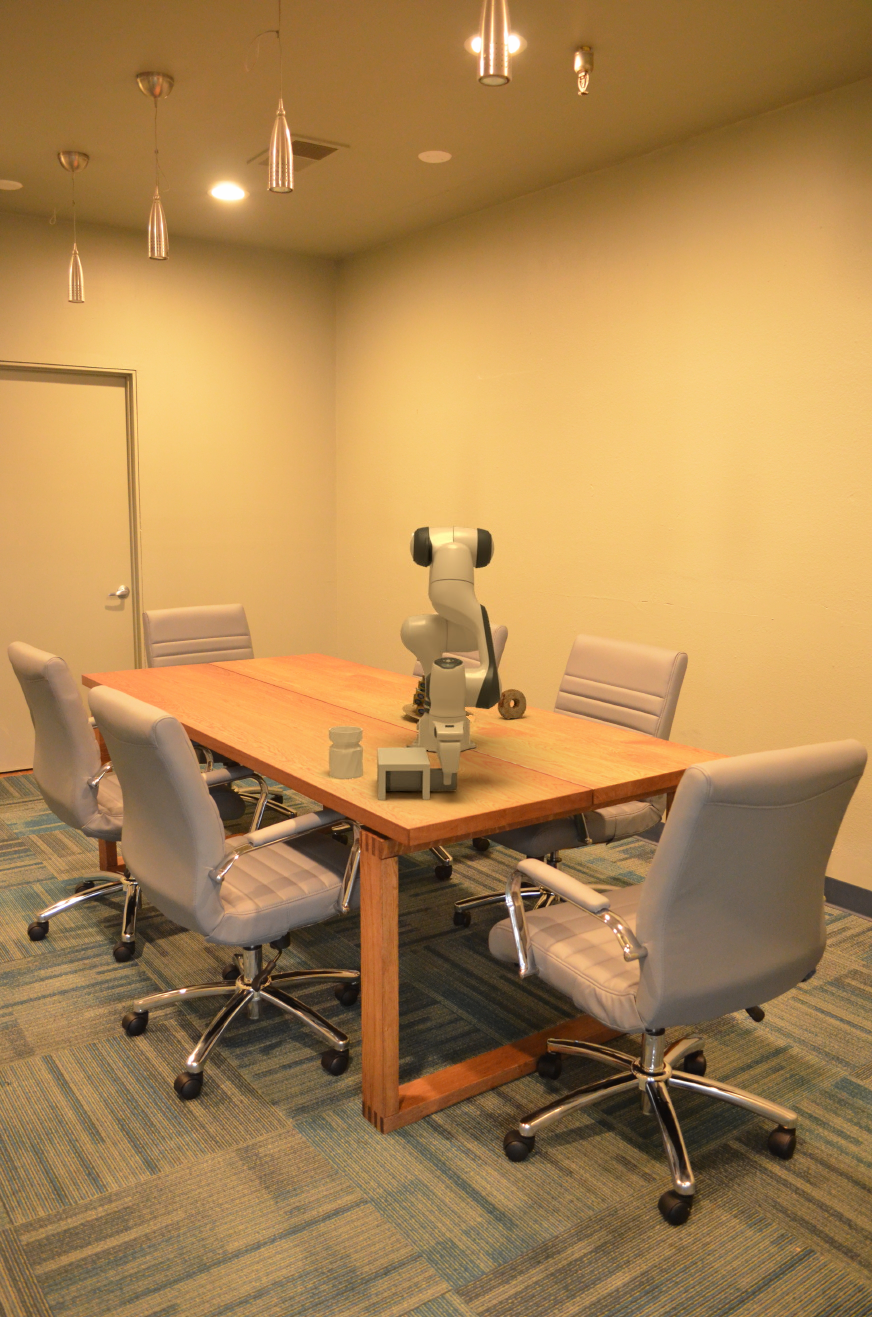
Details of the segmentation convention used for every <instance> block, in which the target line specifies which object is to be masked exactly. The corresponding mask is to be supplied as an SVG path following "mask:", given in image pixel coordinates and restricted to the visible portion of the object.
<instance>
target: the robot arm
mask: <svg viewBox="0 0 872 1317" xmlns="http://www.w3.org/2000/svg"><path fill="white" fill-rule="evenodd" d="M409 544H410V545H409V551H410V555H411V557H412V561H413V562H414V564H416V565H418V566H420V567H424V568H428V567H429V570H428V571H429V573H428V590H427V592H428V594H427V596H428V599H429V601H430V603H431V605H432V608H433V609H434V611H435V612H436V614H434V613H433V614H430V613H427V614H426V613H425V614H423V613H422V614H416V615H413V616H408V617H406V619H404V621H403V623H402V625H401V628H400V639H401V642H402V644H403V646H404V647H405V648H406V649H407V650H408V651H409V652H411V653H412V654H413V655H414V656H415V657H416V658H417V660H418V661H419V663H420V665H421V667H422V670H423V674H424V675H425V688H426V699H425V700H424V712H425V713H424V715H423V716H422V717H421V719H418V721H417V722H416V731H417V733H416V737H415V738H414V740H413V741H412V742H411V746H412V747H414V748H425V749H426V751H427V750H428V751H429V752H435V753H436V755H437V759H438V762H439V765H440V768H442V771H443V783H444V784H445V785H450V784H451V776H452V773H457V774H458V771H459V767H460V760H461V752H463V751H465V750H469V749H475V748H476V747H477V743H476V742H474V741H472V740H471V722H470V720H469V719H468V718H467V717H466V711H467V710H466V708H475V709H484V710H490V709H492V708H493V707H495V706H496V705H498V702H499V701H500V698H501V695H502V692H503V685H502V681H501V677H500V674H499V671H498V666H497V660H496V654H495V652H496V651H495V647H494V642H493V641H494V640H493V633H492V628H491V624H490V618H489V614H488V611H487V609H486V606H485V605H483V604H482V603H480V602H479V601H478V598H477V597H476V593H475V570H474V568H475V569H481V568H485V567H487V566H489V564H491V561H492V559H493V556H494V555H495V554H494V553H495V543H494V540H493V536H492V534H491V533H490V531H489V530H487V529H484V528H480V527H478V528H472V527H465V526H457V525H456V526H454V525H453V526H434V527H429V526H423V527H418V528H417V529H416V530H415V531H414V532H413V535H412V537H411V539H410V542H409ZM476 651H478V656H479V662H480V663H479V667H476V668H471V667H467V668H466V667H465V663H464V661H463V660H461V659H460V658H456V657H452V656H448V657H447V656H446V657H445V656H444V657H443V654H445V653H472V652H476Z"/></svg>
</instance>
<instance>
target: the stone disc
mask: <svg viewBox="0 0 872 1317" xmlns="http://www.w3.org/2000/svg"><path fill="white" fill-rule="evenodd" d="M512 701H513V705H512V706H511V703H512ZM526 710H527V699H526V696H525V695H524V693H523V692H522V691H520V690H519V689H515V688H514V689H513V688H510V689H506V690H504V691H502V695H501V698H500V701H499V702H498V703H497V711H498V713H499V714H500V716H501V717H502V718H504V719H506V718H515V719H519V718H521V717H522V716H523V715H524V714H525V712H526Z"/></svg>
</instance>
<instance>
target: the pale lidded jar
mask: <svg viewBox="0 0 872 1317" xmlns="http://www.w3.org/2000/svg"><path fill="white" fill-rule="evenodd" d="M363 731H364V730H363V728H362V727H359V726H353V725H340V726H339V725H337V726H333V727H330V728H329V729H328V740H329V741H330V742H331V743H332V744H331V745H330V746H329V748H328V767H329V777H330V776H331V777H330V778H333V777H334V778H333V779H337V778H340V779H339V780H353V779H352V778H354V779H359V778H361V777H362V776H363V774H364V765H363V757H364V747H363V746H362V745H361V744H360V742H362V740H363ZM358 777H359V778H358Z"/></svg>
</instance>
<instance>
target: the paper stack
mask: <svg viewBox="0 0 872 1317" xmlns="http://www.w3.org/2000/svg"><path fill="white" fill-rule="evenodd" d="M425 699H426V688H425V675H424V673H422V678H421V679H420V680H418V682H417V687H415V693H414V694H413V698H412V703H408V704H405V705H404V706H402V711H403V712H404V713H405V714H407V716H410V717H412V718H415V719H417V720H419V719H421V717H422V716H423V715H424V713H425V712H424V700H425ZM465 711H466V716H469V715H474V714H473V713H471V712H470V711H468V710H465Z"/></svg>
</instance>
